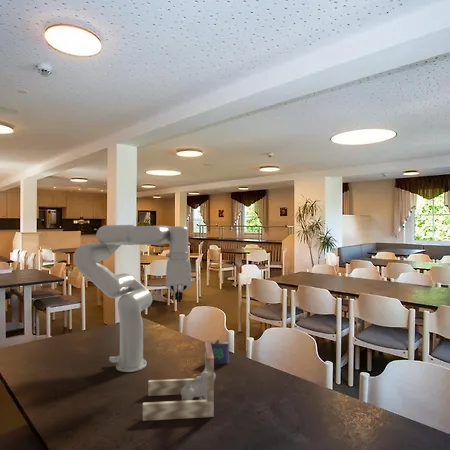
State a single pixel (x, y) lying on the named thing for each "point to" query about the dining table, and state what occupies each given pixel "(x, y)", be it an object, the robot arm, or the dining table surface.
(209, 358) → the channel
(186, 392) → the dog figurine
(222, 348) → the flask
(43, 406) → the dining table surface
